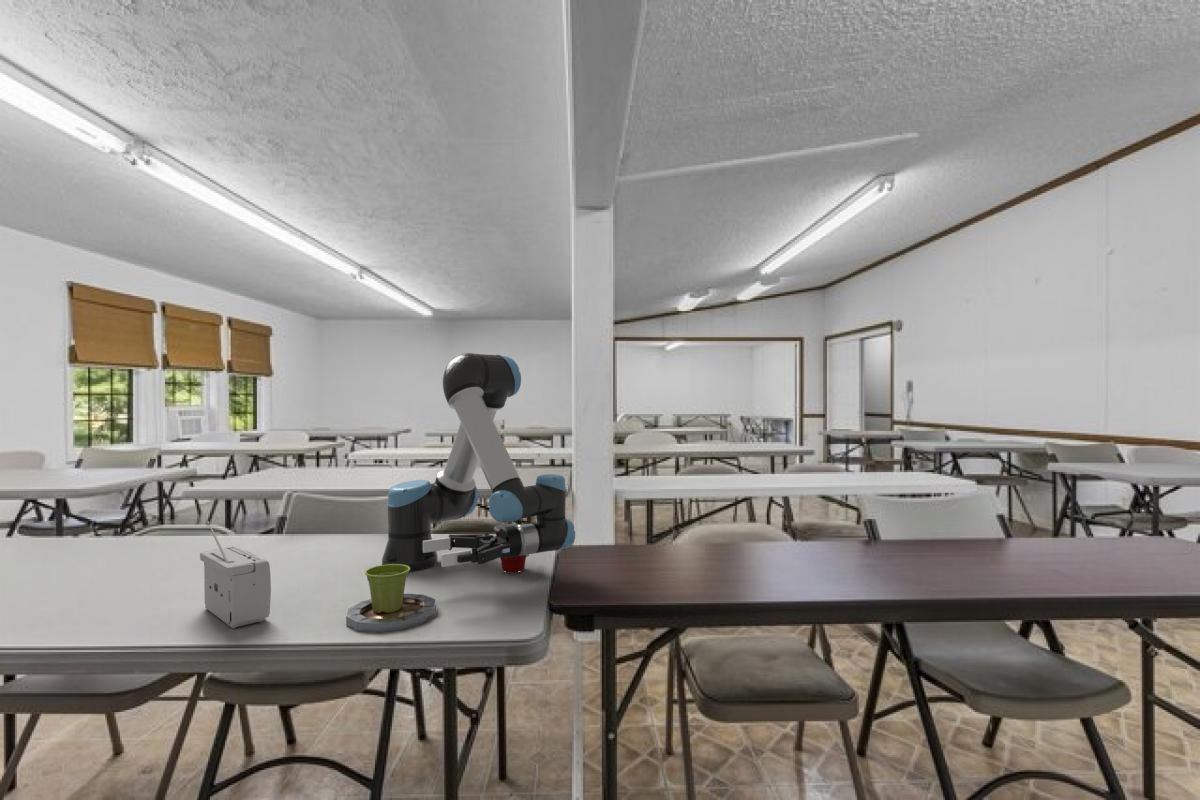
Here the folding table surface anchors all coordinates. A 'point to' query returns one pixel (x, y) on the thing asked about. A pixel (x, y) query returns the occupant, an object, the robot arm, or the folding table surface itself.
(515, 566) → the plastic cup
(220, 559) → the stereo radio cassette player
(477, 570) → the folding table surface
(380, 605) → the plant pot
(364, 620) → the steel ring
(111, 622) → the folding table surface
